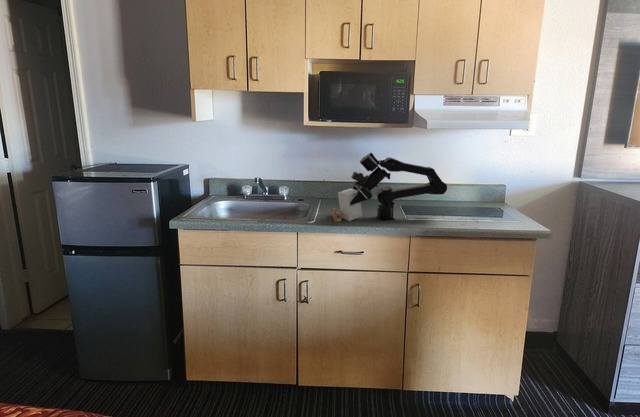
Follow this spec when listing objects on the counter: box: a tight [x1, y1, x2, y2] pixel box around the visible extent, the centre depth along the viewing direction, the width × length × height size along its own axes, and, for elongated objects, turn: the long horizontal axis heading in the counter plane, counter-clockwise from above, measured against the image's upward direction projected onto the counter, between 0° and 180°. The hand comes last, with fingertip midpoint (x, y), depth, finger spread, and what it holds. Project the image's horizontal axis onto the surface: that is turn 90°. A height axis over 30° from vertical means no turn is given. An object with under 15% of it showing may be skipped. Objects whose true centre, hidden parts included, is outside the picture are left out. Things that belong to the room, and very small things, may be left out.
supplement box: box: [337, 188, 363, 222], centre depth 194 cm, size 7×7×13 cm
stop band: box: [332, 207, 342, 223], centre depth 196 cm, size 3×11×4 cm, turn 4°
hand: (348, 202), depth 194 cm, fingers open, 9 cm apart
